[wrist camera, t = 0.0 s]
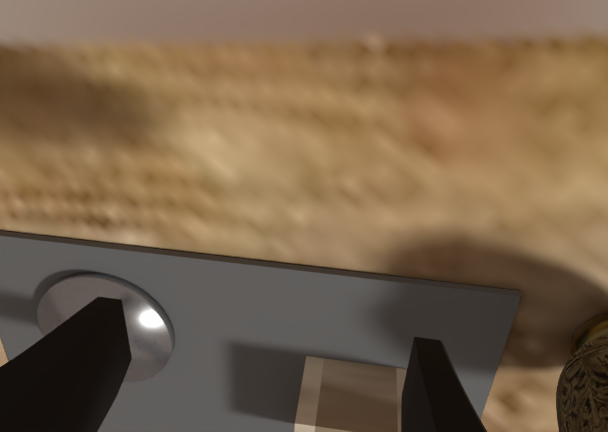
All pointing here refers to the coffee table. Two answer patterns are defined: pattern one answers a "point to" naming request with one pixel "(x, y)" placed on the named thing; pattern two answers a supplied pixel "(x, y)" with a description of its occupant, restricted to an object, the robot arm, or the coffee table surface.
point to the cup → (585, 381)
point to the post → (137, 310)
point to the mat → (256, 328)
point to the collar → (349, 397)
